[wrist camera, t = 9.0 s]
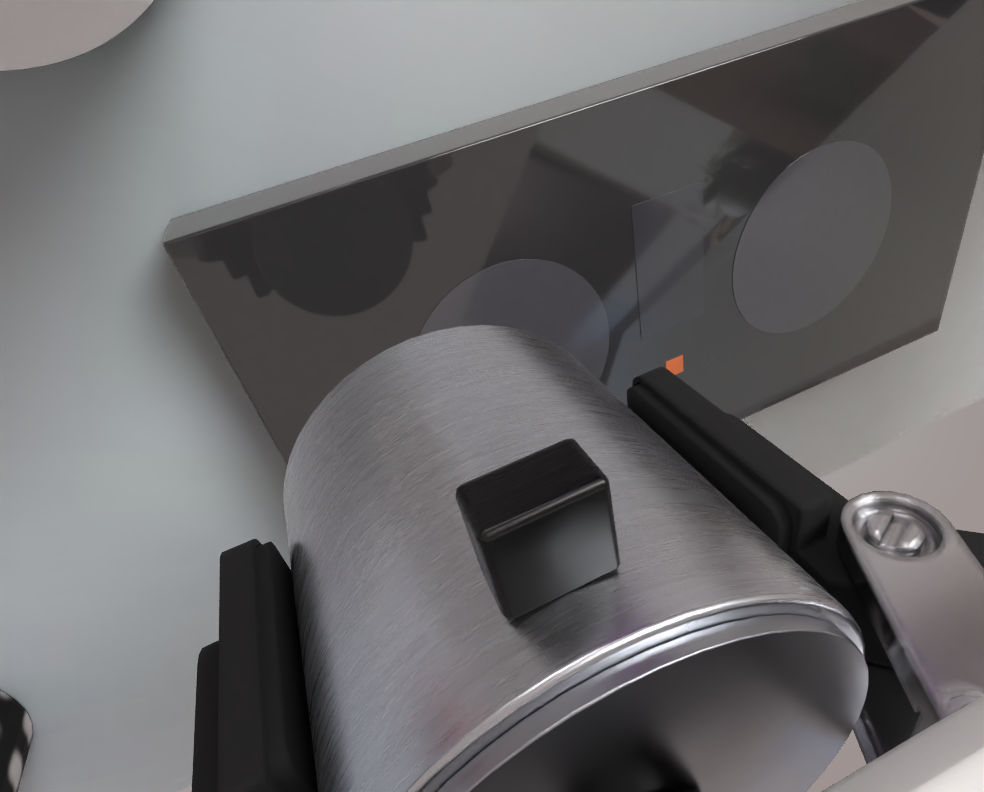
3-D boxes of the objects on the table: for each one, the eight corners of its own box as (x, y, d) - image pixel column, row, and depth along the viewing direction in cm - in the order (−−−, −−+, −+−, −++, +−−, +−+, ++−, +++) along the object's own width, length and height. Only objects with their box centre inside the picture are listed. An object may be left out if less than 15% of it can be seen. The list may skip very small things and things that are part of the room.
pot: (575, 207, 10) (1060, 447, 4) (621, 550, 15) (866, 871, 9) (176, 350, 9) (77, 964, 3) (373, 669, 14) (477, 1122, 8)
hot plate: (963, -32, 23) (1035, -39, 21) (892, 311, 31) (938, 331, 29) (168, 219, 17) (160, 244, 15) (348, 550, 26) (358, 593, 24)
